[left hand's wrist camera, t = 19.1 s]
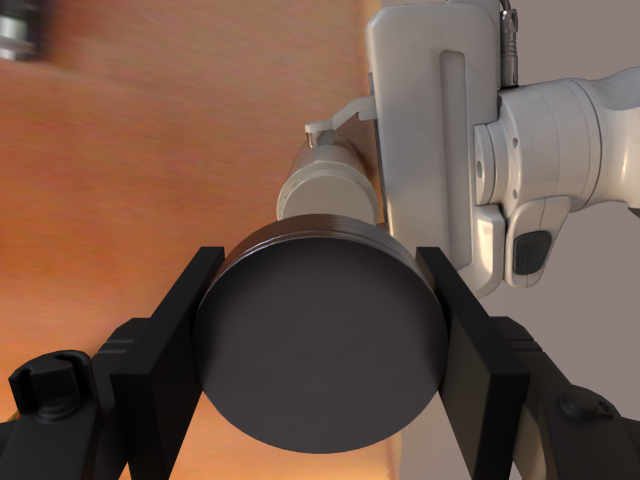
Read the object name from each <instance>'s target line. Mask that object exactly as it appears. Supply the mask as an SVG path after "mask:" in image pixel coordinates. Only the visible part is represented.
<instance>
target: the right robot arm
mask: <svg viewBox="0 0 640 480" xmlns="http://www.w3.org/2000/svg"><path fill="white" fill-rule="evenodd" d="M500 2H501V4H502V6H503V10H504V11H501V12H500ZM517 30H518V17H517V12H516V9H511V7H510V3H509V0H447V1H446V2H445V3H417V4H405V5H397V6H390V7H385V8H382V9H380V10H378V11H377V12H376V13H375V14H374V15H373V16H372V17H371V19H370V20H369V22H368V23H367V25H366V27H365V30H364V36H365V46H366V55H367V64H368V73H369V82H370V92H371V95H369V96H364V97H358V98H354V99H352V100H351V101H350V102H349V103H348V104H346V105H345V106H344V107H343V108H342V109H340V110H339V111H338V112H337V113H336V114H334V115H333V116H332V117H331V118H332V119H327V120H321V121H315V122H310V123H306V124H305V129H306V135H307V140H308V146H309V147H316V146H319V145H320V144H321V143H322V144H324V145H329V144H335V141H334V133H333V130H334V131H335V130H336V129H337V128H338V127H340V126H341V125H342V124H343V123H344V122H346V121H347V120H348V119H349V118H351V117H352V116H353V115H354V114H356V115H357V118H358V119H359V120H360V121H365V120H372V119H374V128H375V137H376V147H377V156H378V165H379V174H380V183H381V192H382V201H383V211H384V220H385V223H379V224H377V225H376V227H378V228H379V229H381V230H383V231H385V232H387V233H388V234H389V235H391V236H392V237H393V238H395V239H396V240H397V241H399V242H400V243H401V244H402V245H403V246H404V247H405V248H406V249H407V250H408V251H409V252H410V253H411V255H412V256H413V257H414V259H415V256H416V247H440V249H441V250H442V251H443V253H444V254H445V256H446V257H447V258H448V260H449V261H450V263H451V264H452V265H453V267H454V268H455V270H456V271H457V272H458V274H459V275H460V276H461V278H462V279H463V281H464V282H465V283H466V285H467V286H468V288H469V289H470V290H471V292H472V293H473V294H474V296H475V297H476V299H480V298H483V297H485V296H487V295H489V294H490V293H492V292H493V291H494V290H495V289H496V288H497V287H498V286H499V284H500V283H501V281H502V279H503V280H504V281H505V282H506V283H507V284H509V285H510V286H511V287H514V288H527V287H531V286H534V285H535V284H537V283H538V281H539V280H540V278H541V276H542V274H543V271H544V268H545V266H546V263H547V260H548V258H549V255H550V253H551V250H552V247H553V245H554V243H555V240H556V238H557V236H558V233H559V231H560V229H561V227H562V225H563V223H564V221H565V219H566V217H567V215H568V213H572V212H576V211H579V210H582V209H585V208H587V207H590V206H592V205H595V204H598V203H602V202H609V201H616V202H622V203H627V204H628V205H629V207H628V209H629V210H630V211H631V212H632V213H634V214H635V215H636V216H637V217H639V218H640V66H639V67H634V68H629V69H625V70H622V71H620V72H617V73H615V74H613V75H611V76H609V77H606V78H603V79H599V80H585V79H578V78H566V79H560V80H553V81H547V82H541V83H535V84H529V85H522V86H519V85H518V58H517V51H516V41H515V40H516V32H517ZM497 88H500V89H499V90H497Z"/></svg>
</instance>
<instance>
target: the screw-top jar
mask: <svg viewBox="0 0 640 480" xmlns="http://www.w3.org/2000/svg"><path fill="white" fill-rule="evenodd" d="M334 141H335V144H329V145H324V144H322V143H321V144H320V145H319V146H316V147H309V146H308V140H306V141H305V142H304V143H303V144H302V145H301V147H300V148H299V150H298V152H297V154H296V157H295V159H294V161H293V164H292V166H291V168H290V171H289V173H288V176H287V178H286V180H285V183H284V185H283V187H282V190H281V192H280V195H279V198H278V202H277V218H278V220H281V219H285V218H289V217H293V216H298V215H305V214H334V215H343V216H347V217H351V218H355V219H359V220H361V221H364V222H367V223H369V224H372V225H374V226H376V225H377V222H378V216H379V205H378V199H377V195H376V193H375V190H374V188H373V186H372V184H371V181H370V179H369V177H368V175H367V172H366V170H365V168H364V166H363V164H362V161H361V159H360V157H359V155H358V152H357V150H356V148H355V147H354V145H353V144H352V143H351V142H350V141H349V140H348V139H347V138H345V137H343V136H342V135H339V134H336V133H334Z"/></svg>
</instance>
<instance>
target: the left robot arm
mask: <svg viewBox="0 0 640 480" xmlns="http://www.w3.org/2000/svg"><path fill="white" fill-rule="evenodd" d="M224 260H225V253H224V247H201V248H200V249H199V250H198V252H197V253H196V255H195V256H194V257H193V259H192V260H191V262H190V263H189V264H188V266H187V267H186V269H185V270H184V271H183V273H182V274H181V275H180V277H179V278H178V280H177V281H176V282H175V284H174V285H173V287H172V288H171V289H170V291H169V292H168V293H167V295H166V296H165V298H164V299H163V300H162V302H161V303H160V305H159V306H158V307H157V309H156V310H155V312H154V313H153V314H152V316H151V317H150V318H132V319H130V320H129V321H127V322H126V323H124V324H123V325H121V326H120V327H118V328H117V329H116V330H115V331H114V332H113V333H112V335H111V336H110V337H109V338H108V339H107V342H106V343H104V344H103V346H102V347H101V348H100V349H99V350H98V353H96V354H95V355H94V356H93V358H92V359H91V360H90V356H88V355H87V354H86V353H84V352H82V351H77V350H62V351H56V352H52V353H48V354H44V355H41V356H39V357H37V358H35V359H32V360H30V361H28V362H26V363H25V364H23V365H22V366H21V367H19V368H18V369H16V370H15V371H14V372H13V374H12V375H11V376H10V377H9V378H8V380H9V383H10V386H11V389H12V392H13V396H14V399H15V402H16V405H17V408H18V412H19V415H20V416H19V418H18V419H16V420H12V421H8V422H3V423H0V480H118V479H119V477H120V475H121V474H122V472H123V470H124V468H125V466H126V464H127V462H128V465H129V470H130V475H131V480H169V477H170V474H171V472H172V469H173V466H174V464H175V461H176V459H177V456H178V453H179V451H180V448H181V445H182V443H183V440H184V438H185V435H186V432H187V430H188V427H189V424H190V422H191V419H192V417H193V414H194V411H195V409H196V406H197V403H198V401H199V398H200V396H201V393H202V387H201V385H200V383H199V381H198V379H197V376H196V372H195V368H194V361H193V353H192V344H191V334H192V328H193V323H194V319H195V316H196V313H197V310H198V307H199V305H200V303H201V301H202V299H203V297H204V296H205V294H206V292H207V290H208V288H209V286H210V285H211V283H212V281H213V279H214V277H215V275H216V273H217V272H218V270H219V268H220V266H221V264H222V263H223V262H224ZM415 260H416V261H417V263H418V264H419V266H420V268H421V270H422V271H423V273H424V275H425V277H426V279H427V281H428V283H429V284H430V286H431V288H432V290H433V292H434V294H435V296H436V298H437V299H438V301H439V303H440V305H441V308H442V310H443V313H444V316H445V319H446V323H447V328H448V333H449V349H448V357H447V364H446V369H445V373H444V377H443V379H442V381H441V383H440V386H439V388H438V392H439V395H440V397H441V400H442V403H443V405H444V408H445V411H446V413H447V416H448V418H449V421H450V424H451V426H452V429H453V432H454V434H455V437H456V440H457V442H458V445H459V447H460V450H461V452H462V455H463V458H464V461H465V463H466V466H467V468H468V471H469V474H470V476H471V479H472V480H509V476H510V471H511V467H512V462H513V461H514V463H515V465H516V467H517V469H518V471H519V473H520V475H521V477H522V480H640V421H636V420H632V419H628V418H624V417H621V415H620V414H619V412H618V411H617V410H616V408H615V407H614V405H613V404H611V403H610V402H609V401H607V400H606V399H605V398H604V397H602V396H601V395H599V394H597V393H595V392H593V391H591V390H589V389H586V388H583V387H579V386H576V385H572V384H571V383H570V382H569V381H568V380H567V378H566V377H565V376H564V375H563V374H562V372H561V371H560V370H559V369H558V367H557V366H556V365H555V364H554V363H553V361H552V360H551V359H550V358H549V357H548V355H547V354H546V353H545V352H543V351H542V348H541V347H540V346H539V345H538V343H537V342H534V339H533V337H532V336H531V335H530V334H529V333H528V331H527V330H526V329H525V328H524V327H523V326H522V325H520V324H518V323H517V322H515V321H514V320H512V319H511V318H509V317H489V315H488V314H487V313H486V311H485V310H484V308H483V307H482V306H481V304H480V303H479V301H478V300H477V299H476V297H475V296H474V294H473V293H472V292H471V290H470V289H469V288H468V286H467V285H466V283H465V282H464V281H463V279H462V278H461V276H460V275H459V274H458V272H457V271H456V270H455V268H454V267H453V265H452V264H451V263H450V261H449V260H448V258H447V257H446V256H445V254H444V253H443V251H442V250H441V249H440V247H416V256H415Z"/></svg>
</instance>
